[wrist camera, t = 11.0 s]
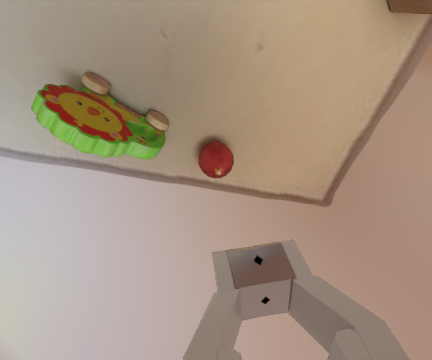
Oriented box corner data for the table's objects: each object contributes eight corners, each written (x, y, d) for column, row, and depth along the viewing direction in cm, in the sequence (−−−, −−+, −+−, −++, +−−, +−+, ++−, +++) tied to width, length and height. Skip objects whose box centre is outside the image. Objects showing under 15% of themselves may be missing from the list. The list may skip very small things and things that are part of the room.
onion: (236, 148, 50) (245, 171, 43) (213, 169, 52) (220, 195, 45) (212, 128, 47) (219, 150, 40) (190, 151, 49) (193, 176, 42)
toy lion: (171, 118, 45) (171, 164, 33) (154, 143, 47) (148, 196, 35) (72, 58, 39) (25, 87, 26) (58, 91, 41) (7, 132, 28)
